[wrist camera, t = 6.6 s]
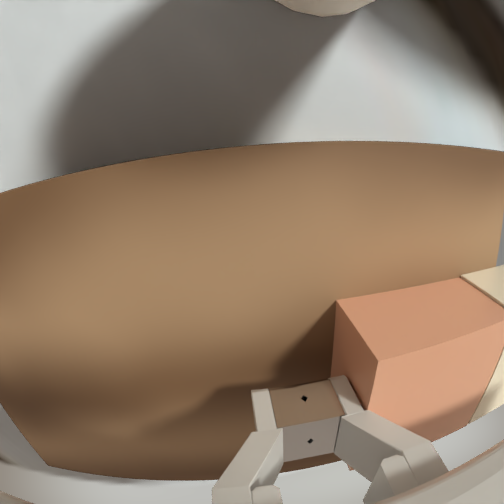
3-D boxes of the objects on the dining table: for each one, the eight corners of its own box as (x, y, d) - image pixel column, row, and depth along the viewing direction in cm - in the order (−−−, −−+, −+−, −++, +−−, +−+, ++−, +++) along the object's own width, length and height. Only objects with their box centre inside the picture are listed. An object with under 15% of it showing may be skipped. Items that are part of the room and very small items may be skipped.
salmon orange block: (336, 299, 9) (378, 361, 6) (459, 277, 9) (514, 315, 7) (326, 410, 11) (349, 470, 8) (432, 380, 11) (466, 425, 8)
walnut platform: (2, 192, 12) (-75, 221, 7) (421, 142, 14) (506, 152, 8) (75, 399, 17) (48, 465, 11) (398, 364, 18) (441, 425, 13)
